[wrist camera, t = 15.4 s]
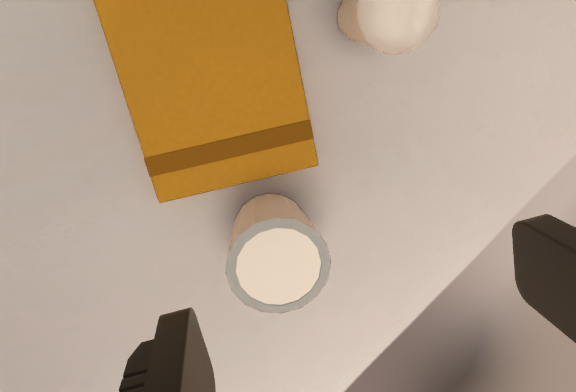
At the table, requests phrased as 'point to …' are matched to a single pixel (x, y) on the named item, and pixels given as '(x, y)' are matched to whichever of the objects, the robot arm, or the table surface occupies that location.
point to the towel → (210, 90)
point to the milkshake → (389, 23)
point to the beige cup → (276, 256)
